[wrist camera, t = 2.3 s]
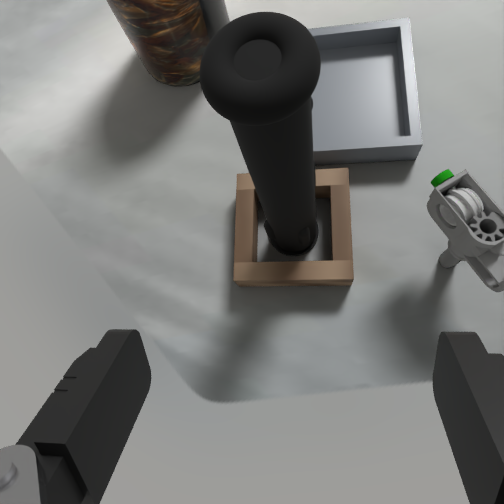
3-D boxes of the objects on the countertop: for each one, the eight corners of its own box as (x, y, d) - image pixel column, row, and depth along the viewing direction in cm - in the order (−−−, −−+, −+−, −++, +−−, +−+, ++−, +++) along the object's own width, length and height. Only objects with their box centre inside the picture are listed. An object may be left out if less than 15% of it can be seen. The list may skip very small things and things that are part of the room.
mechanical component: (469, 314, 36) (522, 296, 27) (401, 224, 40) (426, 180, 30) (498, 297, 36) (560, 273, 27) (427, 209, 40) (460, 160, 30)
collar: (346, 181, 42) (348, 167, 39) (351, 285, 39) (353, 279, 36) (242, 186, 44) (237, 174, 41) (239, 286, 41) (233, 280, 38)
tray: (403, 39, 45) (409, 17, 42) (415, 159, 41) (422, 144, 38) (271, 53, 48) (268, 33, 45) (270, 168, 44) (266, 154, 41)
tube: (218, 129, 17) (342, 75, 16) (178, 33, 18) (290, -17, 18) (278, 267, 40) (330, 246, 40) (259, 220, 42) (308, 199, 42)
